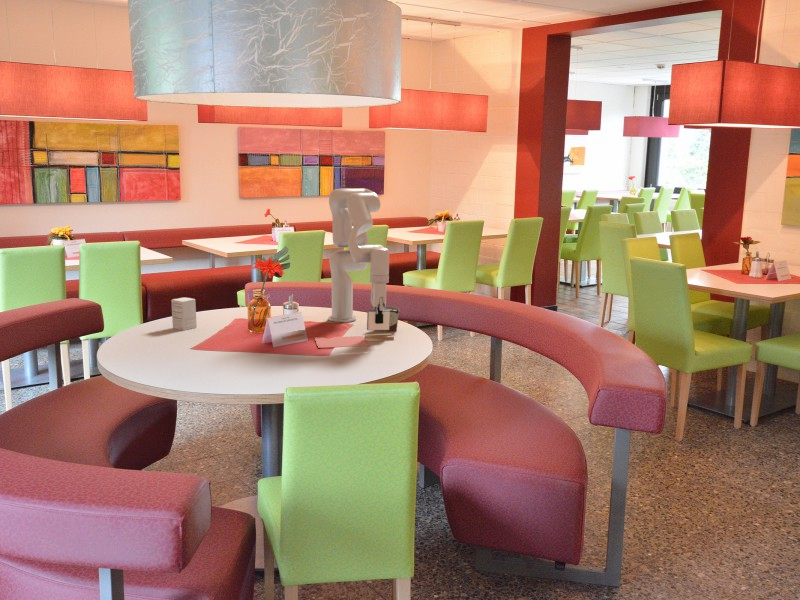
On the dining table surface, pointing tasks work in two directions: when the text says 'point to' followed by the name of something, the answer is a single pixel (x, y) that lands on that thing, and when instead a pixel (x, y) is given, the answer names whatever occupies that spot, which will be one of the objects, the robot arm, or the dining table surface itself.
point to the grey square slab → (373, 326)
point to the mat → (341, 342)
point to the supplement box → (184, 313)
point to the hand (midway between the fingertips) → (378, 322)
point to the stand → (379, 337)
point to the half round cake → (392, 318)
